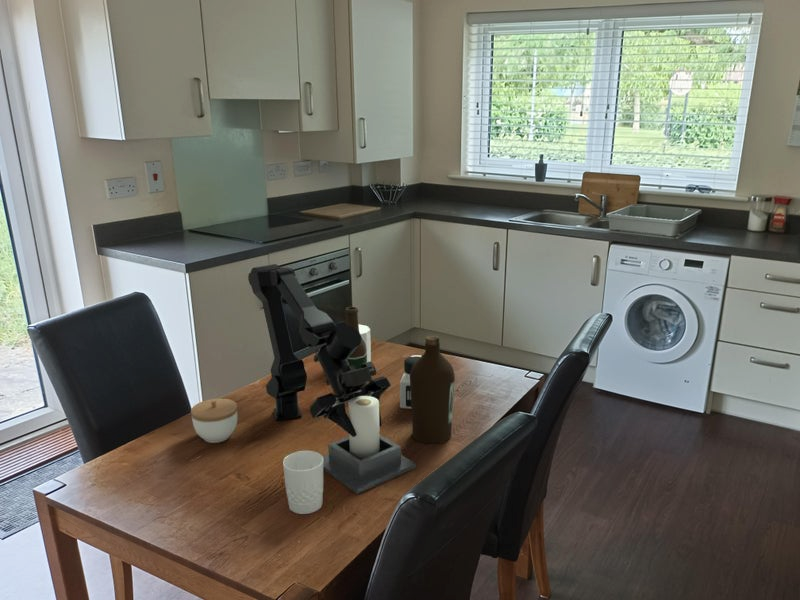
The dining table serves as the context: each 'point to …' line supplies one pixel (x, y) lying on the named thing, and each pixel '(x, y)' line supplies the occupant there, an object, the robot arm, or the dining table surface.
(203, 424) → the lidded jar
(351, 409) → the white paper towel roll
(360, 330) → the toilet paper
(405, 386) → the container
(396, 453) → the square open box
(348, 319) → the beer bottle
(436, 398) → the olive oil
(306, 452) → the white cup
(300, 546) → the dining table surface
